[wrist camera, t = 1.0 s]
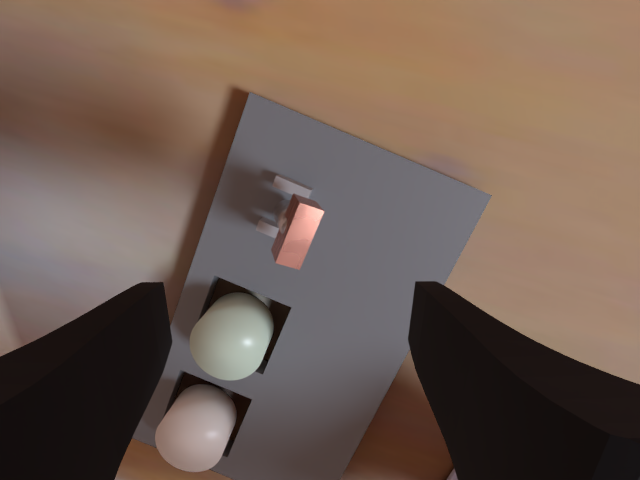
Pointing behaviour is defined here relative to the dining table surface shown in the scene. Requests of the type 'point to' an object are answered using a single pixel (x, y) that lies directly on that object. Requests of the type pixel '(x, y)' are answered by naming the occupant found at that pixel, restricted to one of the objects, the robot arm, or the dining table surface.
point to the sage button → (232, 336)
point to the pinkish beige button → (196, 428)
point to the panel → (316, 286)
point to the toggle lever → (295, 229)
